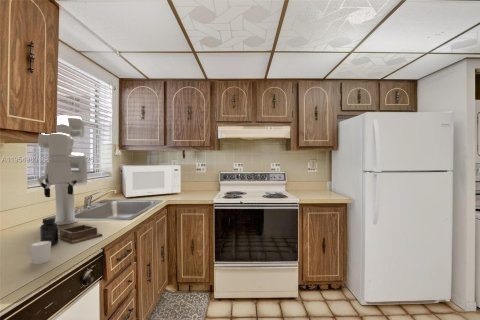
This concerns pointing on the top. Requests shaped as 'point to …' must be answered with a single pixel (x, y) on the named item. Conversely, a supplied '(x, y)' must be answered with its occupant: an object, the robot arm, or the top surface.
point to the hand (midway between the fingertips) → (59, 195)
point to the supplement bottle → (49, 230)
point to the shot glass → (40, 252)
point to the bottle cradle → (78, 233)
